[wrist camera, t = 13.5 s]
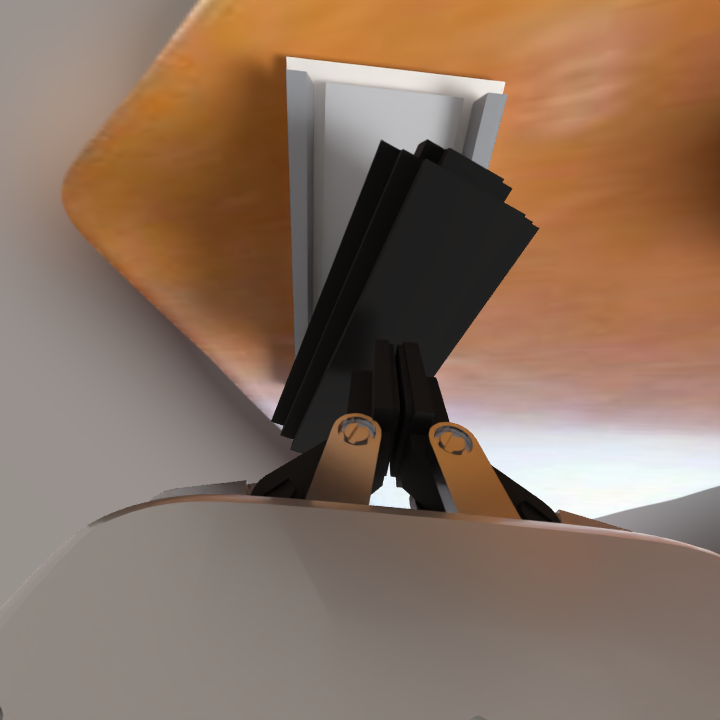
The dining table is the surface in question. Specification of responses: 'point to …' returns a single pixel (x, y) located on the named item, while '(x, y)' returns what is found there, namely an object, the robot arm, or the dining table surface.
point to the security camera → (402, 277)
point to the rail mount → (365, 147)
